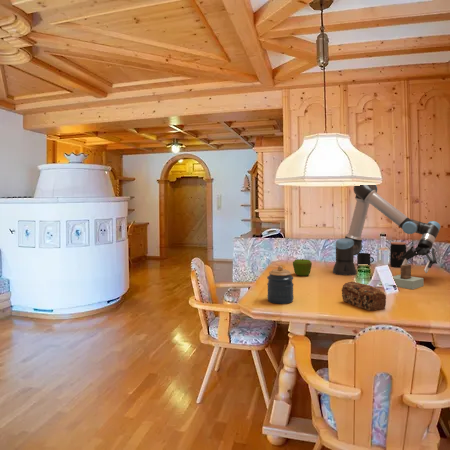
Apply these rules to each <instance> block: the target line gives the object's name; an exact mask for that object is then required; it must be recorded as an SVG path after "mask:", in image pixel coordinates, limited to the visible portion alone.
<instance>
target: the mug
mask: <svg viewBox="0 0 450 450" xmlns="http://www.w3.org/2000/svg"><path fill="white" fill-rule="evenodd" d="M356 256H357V257H356V258H357V259H356V260H357V261H356V265H357V266H358V264H368V265H370V266H371V263H374V262H375V258H374V257H373V256H371V253H368V252H359V253H358V254H357V255H356ZM371 259H372V261H371Z"/></svg>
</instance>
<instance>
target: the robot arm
mask: <svg viewBox="0 0 450 450" xmlns="http://www.w3.org/2000/svg"><path fill="white" fill-rule="evenodd" d="M377 192H378V186H377V184H376V185H360V186H354V185H353V193H354V195H355V197H354V198H355V200H356V201H355V202H356V203H355V206H354V211H353V214H352V218H351V221H350V226H349V230H348V233H347V234H345V237H344V238H339V239H337V240H336V241H335V262H334V265H333V268H332V273H333V274H335V275H340V276H354V275H357V269H356V266H355V263H354V260H355V259H354V258H355V257H354V256H357V254H358V253H361V251H362V249H363V244H362V243H363V237H362V233H363V230H364V226H365V223H366V219H367V218H366V217H367V214H368V211H369V209H370V208H369V207H370V205H371V206H372V207H374V209H376V210H378V211H379V212H380V213H382V214H383V215H384V216H386V217H387V219H389V220H390V221H392V222H393V223H394V224H396V225H397V226H398V227H399V228H400V229H402V231H403V233H404V234H407V235H412V234H415V233H416V234H419V235H421V237H420V239H419V241H418V243H417V246H416V247H414V246H410V248H409V249H408V250H406V253H405V254H403V255H402V256H401V258H402V260H403V261H402V265H405V264H407V263H408V261H409V260H410V259H412V258H414V257H416V256H426V258H427V262H426V265H425V267H424V272H425V274H427V273H428V271H429V269H431V268H432V266H433V265H434V264H437V263H438V262H437V256H436V250H435V247H434V248H432V247H433V245H434V243H435V241H436V239H437V237H438V235H439V233H440V230H441V224H440V223H439V222H438V221H436V220H430V221H428V222H423V221H418V220H416V219H412V218H409V217H408V216H407V215H406V214H404V213H403V212H402V211H401V210H399V208H397V207H395V206H394V205H393V204H391V203H390V202H389V201H388V200H386V199H384V197H382V196H381V195H380V194H378V193H377ZM429 253H431V255H432V256H430V255H429ZM431 257H432V258H431Z"/></svg>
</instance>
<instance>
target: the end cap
mask: <svg viewBox="0 0 450 450" xmlns="http://www.w3.org/2000/svg"><path fill="white" fill-rule="evenodd" d="M393 279H394V281H395V283H396V285H397V286H398V287H397V288H402V289H409V290H415V289H419V288H421V287H424V285H425V284H424V281H425V280H424V278H423V277H417V276H412V275H411V278H410V279H401V274H397V275H393Z"/></svg>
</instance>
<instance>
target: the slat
mask: <svg viewBox="0 0 450 450" xmlns="http://www.w3.org/2000/svg"><path fill="white" fill-rule="evenodd" d="M400 275H401V279H410V278H411V276H412V264H405V265H401V268H400Z"/></svg>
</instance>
